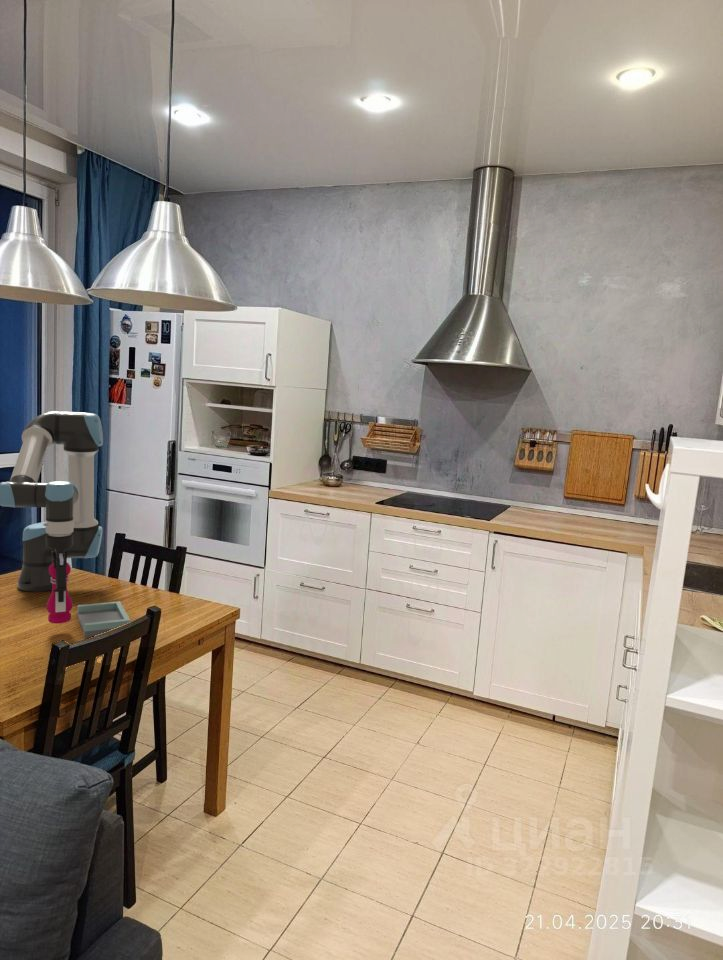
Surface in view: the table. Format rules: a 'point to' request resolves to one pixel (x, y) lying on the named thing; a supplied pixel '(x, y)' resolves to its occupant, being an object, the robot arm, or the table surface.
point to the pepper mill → (51, 604)
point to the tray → (101, 617)
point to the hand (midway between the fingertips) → (59, 607)
